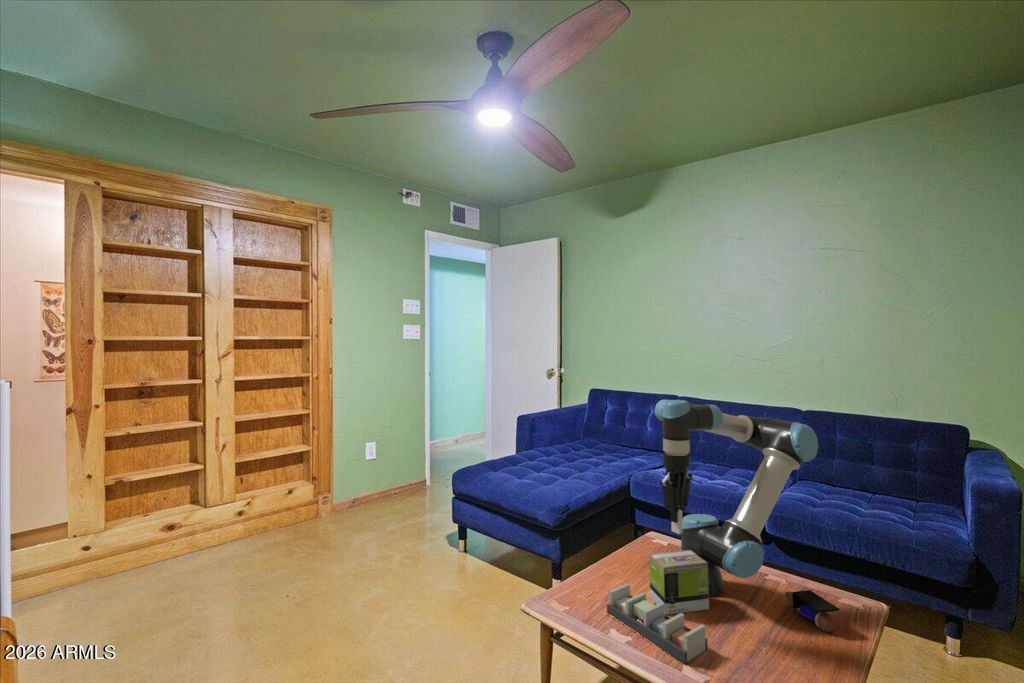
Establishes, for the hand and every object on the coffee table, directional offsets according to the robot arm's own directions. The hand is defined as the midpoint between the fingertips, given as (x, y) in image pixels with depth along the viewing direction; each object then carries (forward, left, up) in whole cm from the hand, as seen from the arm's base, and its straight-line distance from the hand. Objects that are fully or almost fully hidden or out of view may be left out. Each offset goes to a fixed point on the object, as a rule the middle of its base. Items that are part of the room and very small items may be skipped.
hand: (676, 532), depth 140 cm
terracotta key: (+10, +10, -25) cm, 29 cm away
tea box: (-8, -5, -26) cm, 28 cm away
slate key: (+10, +3, -25) cm, 27 cm away
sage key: (+10, -4, -23) cm, 25 cm away
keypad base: (+10, 0, -26) cm, 28 cm away
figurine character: (-33, +23, -27) cm, 48 cm away
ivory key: (+10, -10, -25) cm, 29 cm away
